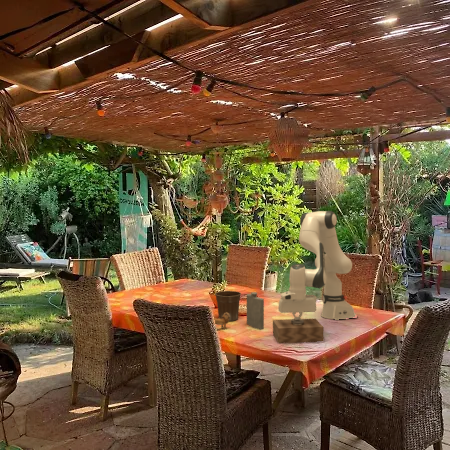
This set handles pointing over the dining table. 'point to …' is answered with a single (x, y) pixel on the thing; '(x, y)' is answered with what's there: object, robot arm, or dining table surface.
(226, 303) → the plant pot
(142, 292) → the dining table surface
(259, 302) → the hip flask
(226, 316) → the lion figurine
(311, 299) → the robot arm
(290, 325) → the block
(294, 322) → the knob
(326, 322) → the dining table surface
